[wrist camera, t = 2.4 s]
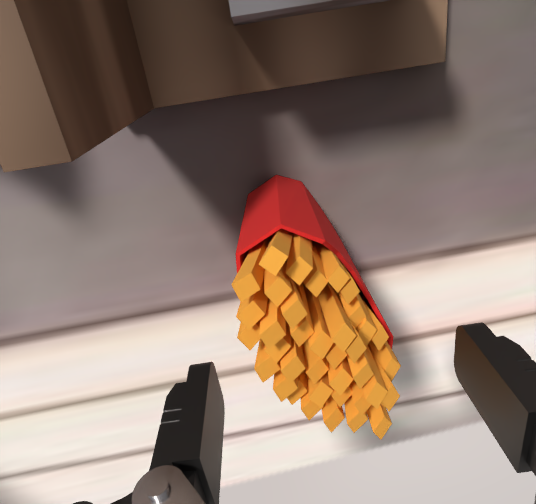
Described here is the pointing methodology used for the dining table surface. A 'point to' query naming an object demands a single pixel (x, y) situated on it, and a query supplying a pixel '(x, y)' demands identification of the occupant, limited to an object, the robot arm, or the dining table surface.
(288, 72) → the wooden shelf
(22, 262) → the dining table surface
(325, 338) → the french fries
